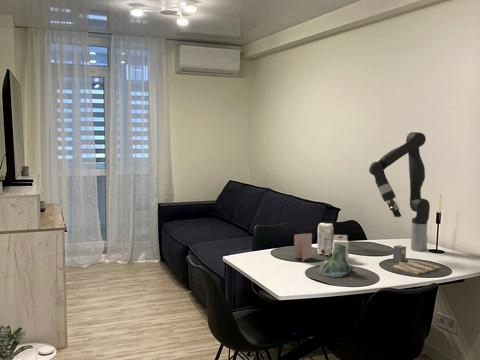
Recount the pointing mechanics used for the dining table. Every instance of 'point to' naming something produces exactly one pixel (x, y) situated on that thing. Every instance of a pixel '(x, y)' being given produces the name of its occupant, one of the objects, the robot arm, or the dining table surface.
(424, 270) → the rail board
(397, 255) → the module
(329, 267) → the tree stump
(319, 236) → the juice carton
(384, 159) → the robot arm
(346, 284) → the dining table surface
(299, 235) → the greeting card
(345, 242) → the ink cartridge box
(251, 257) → the dining table surface
